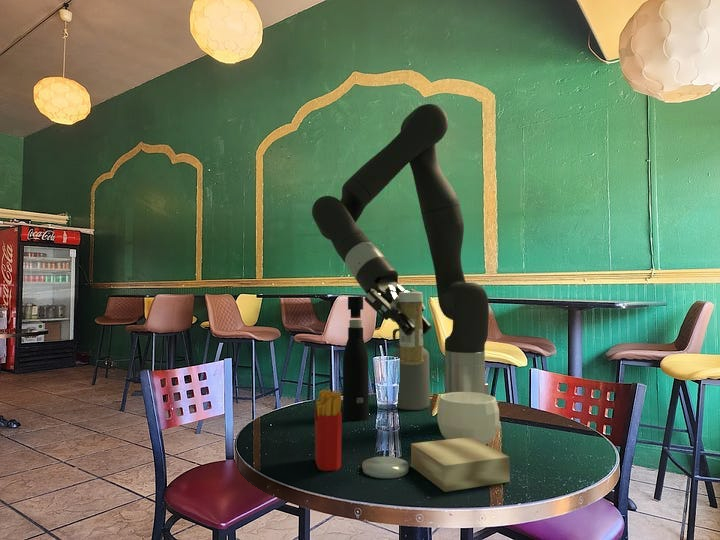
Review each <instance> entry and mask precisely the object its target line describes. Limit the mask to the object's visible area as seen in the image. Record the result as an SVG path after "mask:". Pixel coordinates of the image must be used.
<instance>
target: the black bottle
mask: <svg viewBox="0 0 720 540" xmlns="http://www.w3.org/2000/svg"><path fill="white" fill-rule="evenodd" d="M347 310H349V311H350V316H349V317H350V320H349V321H348V323H349V324H348V328H347V341H346V344H345V347H344V351H343V356H342V420H345V421H349V422H350V421H351V422H361V420H362V421H366V420H368V419H369V418H370V416H369V415H370V411H369V409H370V403H369V402H370V401H369V400H370V399H369V397H370V395H369V394H370V393H369V390H370V388H369V387H370V385H369V384H370V382H369V378H370V377H369V376H370V375H369V372H370V371H369V366H370V365H369V354H368V348H367V345H366V343H365V339H364V328H363V324H362V323H363V320H362V319H361V318H362V317H361V311H363V310H364V296H347Z"/></svg>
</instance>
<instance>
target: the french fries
mask: <svg viewBox="0 0 720 540" xmlns="http://www.w3.org/2000/svg"><path fill="white" fill-rule="evenodd" d="M318 393H319V397H318V398H317V399H316V402H315V405H316V406H315V407H314V434H315V435H314V439H315V440H314V441H315V444H314V445H315V446H314V447H315V448H314V449H315V450H314V453H315V454H314V455H315V457H314V458H315V464H316V466H317V468H318V470H321V471H324V472H328V471H329V472H330V471H339V469H341V468H340V467H342V434H343V433H342V431H343V430H342V424H343V421H342V420H343V412H341V409H342V408H341V407H342V406H341V405H342V392H340V391H335V390H333V391H331V389H329V390H328V389H321V390H320V391H318Z"/></svg>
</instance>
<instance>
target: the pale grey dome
mask: <svg viewBox="0 0 720 540" xmlns="http://www.w3.org/2000/svg"><path fill="white" fill-rule="evenodd" d="M361 469H363V470H362V472H363V474H365V475H366V474H367V475H366V476H368V475H369V477H373V478H376V479H396V478H401V477H403V476H405V475H407V474H409V473H408V472H409V463H408V461H406V460H404V459H402V458H399V457H394V456H374V457H371V458H367V459H365V460H363V461H362V468H361Z"/></svg>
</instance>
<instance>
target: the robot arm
mask: <svg viewBox="0 0 720 540" xmlns="http://www.w3.org/2000/svg"><path fill="white" fill-rule="evenodd" d="M448 127H449V119H448V116H447V113H446V112H445V109H444V108H442V107H440V106H439V105H437V104H433V103H425V104H422V105H420V106H418V107H416V108H415V109H413V111H411V112H410V113H409V114H408V115H406V117H405V118H404V119H403V121H402V123H401V125H400V132H399V133H397V135H395V137H394V138H393V139H392V140H391V141H389V143H388V144H386V146H384V147H383V148H382V149H381V150H380V151H379V152H377V153H376V154H375V155H374V156H373V157H372V158H370V159H368V161H367V162H366V163H364V164H363V165H362V166H361V167H360V168H359V169H357V170H356V172H354V173H353V174H352V175H351V176H349V177H350V178H348V179H347V180H346V181H345V183H343V185H342V187H341V198H340V199H339V198H337V197H335V196H333V195H323V196H320V197H318V198H317V199H316V200H315V201H314V203H313V205H312V209H311V214H312V218H313V221H314V222H315V225H316V227H317V228H318V230H319V232H320V234H321V236H322V237H324V239H327V240H328V241H329V240H330V242H331V244H332V245H333V248H334V249H335V251H336V253H337V254H338V256H339V257H340V259H341V260H342V261H343V263H344V264H345V265H346V267H347V269H348V271H349V272H350V274H351V275H352V277H353V278H354V280H355V281H356V283H358V285H359V287H360V288H361V289H362V290H363V291H364V292H365V294H366V296H365V297H363V301H365V302H366V303H367V304H368V305H369V306H370V307H371V308H372V309H373V310H375V313H377V314H379V316H380V317H381V318H383V319H384V320H386V321H388V319H390V320H391V321H392V322H393V323H396V325H397V326H398V328H399V327H400V328H401V330H402V331H403V332H404V333H405V335H406V336H410V335H411V334H412V333H413V332H414V331H415V326H414V325H413V324H412V322H411V321H410V320H409V319H408V317H407V316H406V315H405V314H402V313H403V311H402V309H401V307H400V302H399V293H400V292H417V290H415V289H414V288H411V289H410V290H405V289H406V288H405V287H404V286H402V285H401V284H400V283H399V282H398V281H399V279H398V278H399V274H398V272H397V270H396V269H395V268H394V266H393V265H392V264H391V262H390V261H389V260H388V259H387V258H386V257H385V255H384V254H383V253H382V251H380V249H379V248H377V246H375V245H374V244H373V243H372V242H371V240H370V239H369V237H368V236H367V234H365V233H364V231H362V229H360V227H359V226H358V225H357V222H358V220H359V218H360V217H361V215H362V214H363V212H364V210H365V209H366V207H367V206H368V205H369V204H370V203H371V202H372V201H373V200H374V199H375V198H376V197H377V196H378V195H379V194H380V193H381V192H382V191H383V190H384V189H385V187H387V186H388V185H389V184H390V183H391V181H392V180H393V179H394V178H395V177H397V176H398V174H399V173H400V172H401V171H402V170H403V169H404V168H405V167H406V166H407V165H408V164H409V166H410V169H411V173H412V175H413V181H414V185H415V191H416V195H417V198H418V203H419V209H420V214H421V219H422V223H423V226H424V227H423V228H424V232H425V235H426V239H427V243H428V247H429V252H430V256H431V260H432V264H433V270H434V275H435V286H436V292H437V300H438V306H439V308H440V311H441V312H442V314H443V315H444V317H446V318H447V319H449V320H451V321H452V330H451V333H450V334H449V335H448V336H447V337H446V338H445V341H444V387H445V388H444V394H446V393H452V392H474V393H482V394H487V395H490V385H489V384H488V382H487V383H486V362H485V361H486V358H485V356H486V355H485V353H486V352H485V349H486V348H485V347H486V342H487V340H488V338H489V337H488V336H489V319H490V317H489V316H490V312H489V311H490V304H489V303H490V302H489V298H488V294H487V292H486V290H485V289H484V287H482V285H480V284H478V283H476V282H466V279H465V275H464V271H463V266H462V256H461V255H462V250H463V249H462V247H463V242H464V241H463V240H464V233H465V232H464V230H465V227H464V223H465V222H464V218H463V214H462V209H461V205H460V202H459V199H458V196H457V194H456V191H455V190H454V188H453V187H452V185H451V184H450V182H449V181H448V179H447V177H446V176H445V175H444V172H443V171H442V167H441V166H440V161H439V157H438V153H437V143H439V142H440V141H441V140H442V139H443V138H444V137H445V135H446V134H447V131H448ZM425 310H426V306H425V305H424V303H423V302H422V313H423V312H424V311H425ZM423 315H424V314H423ZM423 315H422V324H423V335H426V334H428V332H429V331H430V330H431V329H432V325H431V323H430V322H429V321H428V320H427V318H425V315H424V316H423Z"/></svg>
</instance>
